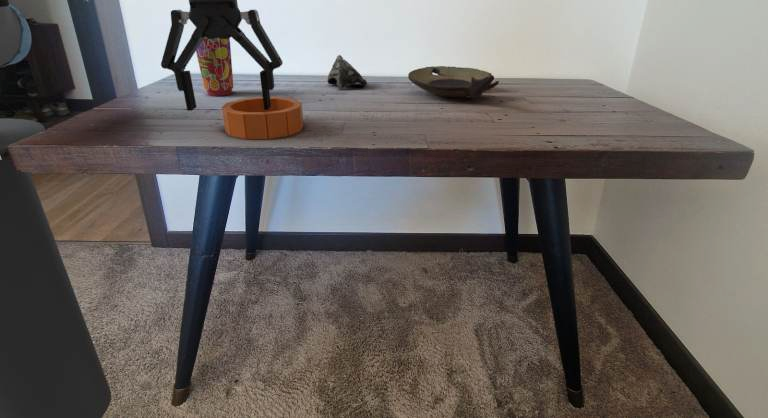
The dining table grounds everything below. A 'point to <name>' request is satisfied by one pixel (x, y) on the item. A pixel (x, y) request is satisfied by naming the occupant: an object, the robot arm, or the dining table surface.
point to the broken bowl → (453, 81)
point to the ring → (262, 118)
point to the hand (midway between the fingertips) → (230, 108)
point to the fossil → (344, 74)
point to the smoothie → (216, 66)
